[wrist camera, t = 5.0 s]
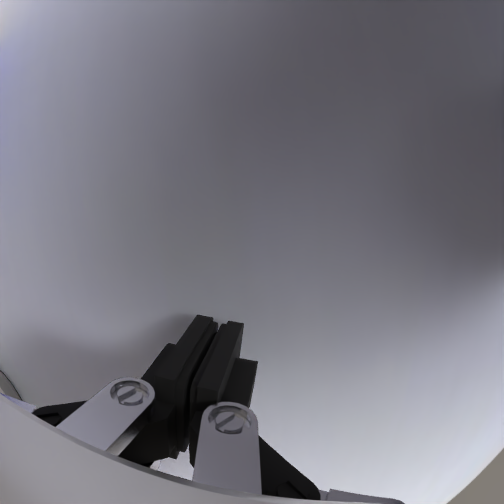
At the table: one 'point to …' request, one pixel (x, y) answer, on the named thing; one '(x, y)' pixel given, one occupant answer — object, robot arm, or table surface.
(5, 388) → the travel mug
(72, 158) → the table surface
